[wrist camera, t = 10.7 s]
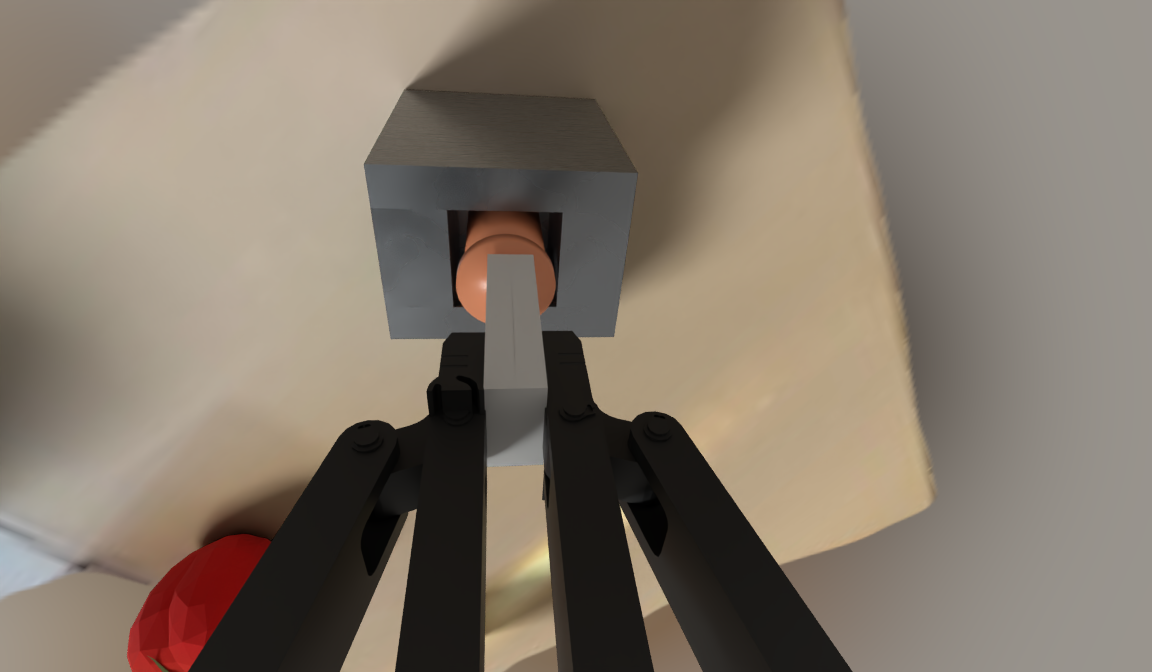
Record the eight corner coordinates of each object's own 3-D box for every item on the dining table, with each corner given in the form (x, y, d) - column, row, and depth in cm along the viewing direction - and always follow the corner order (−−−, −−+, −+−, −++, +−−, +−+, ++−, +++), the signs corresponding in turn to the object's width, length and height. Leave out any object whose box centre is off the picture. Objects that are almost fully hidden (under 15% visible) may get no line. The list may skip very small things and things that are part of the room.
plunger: (465, 252, 24) (458, 327, 20) (461, 177, 22) (453, 241, 18) (542, 253, 25) (553, 326, 20) (545, 180, 23) (558, 242, 18)
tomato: (318, 514, 43) (276, 654, 35) (321, 600, 50) (287, 732, 42) (153, 507, 40) (66, 656, 32) (181, 599, 47) (116, 740, 39)
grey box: (418, 227, 30) (390, 339, 22) (404, 89, 25) (363, 164, 18) (590, 231, 31) (623, 336, 23) (603, 99, 27) (649, 173, 19)
